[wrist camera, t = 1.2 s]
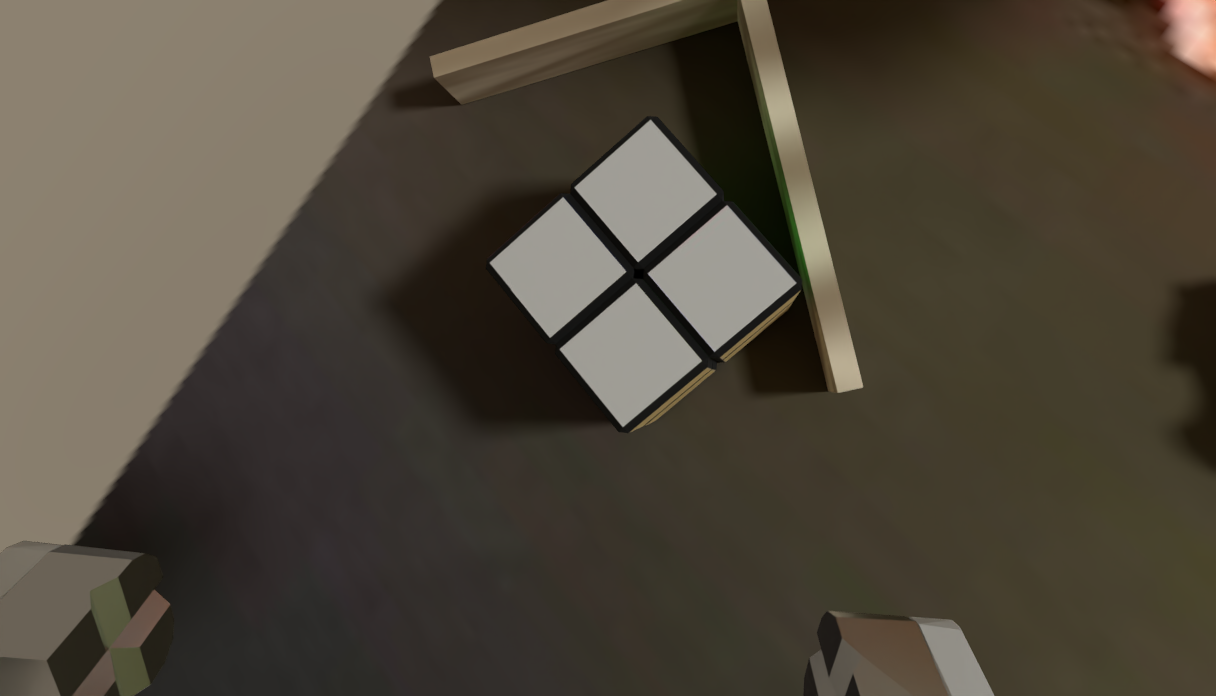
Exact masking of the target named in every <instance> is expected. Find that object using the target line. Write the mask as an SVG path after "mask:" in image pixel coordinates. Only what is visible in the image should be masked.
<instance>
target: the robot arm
mask: <svg viewBox="0 0 1216 696" xmlns="http://www.w3.org/2000/svg"><path fill="white" fill-rule="evenodd" d="M162 578H163V575H162V572H161V569H160V566H159V563H158V560H157V557H155V556H152V555H148V554H145V553H136V552H127V551H118V550H109V549H100V548H91V547H82V546H73V545H57V544H48V543H39V542H30V541H22V542H20V543H17V544H14V545H12V546H9V547H7V548H6V549H5V550H3V552H1V553H0V696H133V695H135V694H137V693H138V692H140V691H141V690H143V689H144V688H146V687H148V686H149V685H151V683H152V682H153V680H154V678H155V677H156V675H157V674H158V672H159V671H160V669H161V668H162V666H163V664H164V663H165V660H166V657H167V654H168V651H169V648H170V646H171V643H172V640H173V629H174V618H173V614H172V609H171V605H170V604H169V603H168V602H167V601H166V600H165V599H164V598H163V597H162V596H161V595H159V594H158V593H157V592H156V591H155V590H154V589H155V588H156V586H157V585H158V584H159V582H160V581H161V580H162ZM817 635H818V638H819V642H820V646H821V650H820V651H819V652H817V653H816V654H815V655H813V656H812V657H810V658H809V662H808V666H807V669H806V673H805V677H804V696H994V694H993V692H992V690H991V688H990V686H989V684H988V682H987V680H986V678H985V676H984V674H983V672H982V670H981V668H980V666H979V664H978V662H977V660H976V658H975V656H974V654H973V652H972V650H971V648H970V646H969V644H968V642H967V640H966V638H965V636H964V634H963V632H962V630H961V628H960V627H959V626H958V625H957V624H956V623H955V622H954V621H953V620H946V619H933V618H920V617H909V618H908V617H905V616H894V615H881V614H867V613H854V612H840V611H827V612H826V613H825V614H824V616H823V617H822V618H821V622H820V625H819V628H818V631H817Z"/></svg>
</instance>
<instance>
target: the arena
mask: <svg viewBox="0 0 1216 696" xmlns="http://www.w3.org/2000/svg"><path fill="white" fill-rule="evenodd" d="M737 21H738V25H739V29H740V33H741V37H742V41H743V45H744V50H745V54H746V58H747V62H748V66H749V70H750V74H751V78H752V82H753V86H754V90H755V94H756V98H757V103H758V107H759V111H760V115H761V119H762V123H763V127H764V131H765V135H766V139H767V143H768V147H769V151H770V156H771V160H772V164H773V168H774V172H775V176H776V180H777V184H778V188H779V192H780V196H781V200H782V204H783V209H784V213H785V217H786V221H787V225H788V229H789V233H790V237H791V241H792V245H793V249H794V253H795V257H796V262H797V266H798V270H799V274H800V277H801V278H802V286H803V290H804V294H805V298H806V302H807V306H808V310H809V315H810V319H811V323H812V327H813V331H814V335H815V339H816V343H817V347H818V351H819V355H820V359H821V364H822V368H823V372H824V376H825V380H826V384H827V388H828V392H835V393H839V392H844V391H849V390H853V389H858V388H863V384H862V380H861V376H860V372H859V368H858V364H857V360H856V356H855V352H854V348H853V344H852V340H851V336H850V332H849V328H848V324H847V320H846V316H845V312H844V308H843V304H842V300H841V296H840V292H839V288H838V284H837V280H836V276H835V272H834V268H833V264H832V260H831V255H830V251H829V247H828V243H827V239H826V235H825V231H824V227H823V223H822V219H821V215H820V211H819V207H818V203H817V199H816V195H815V191H814V187H813V183H812V179H811V175H810V171H809V167H808V163H807V159H806V155H805V151H804V147H803V143H802V139H801V135H800V131H799V127H798V123H797V119H796V115H795V111H794V107H793V103H792V99H791V95H790V91H789V87H788V83H787V79H786V75H785V71H784V67H783V63H782V59H781V55H780V51H779V47H778V43H777V39H776V35H775V31H774V27H773V23H772V19H771V15H770V11H769V7H768V3H767V0H607V1H604V2H601V3H598V4H594V5H591V6H588V7H585V8H582V9H579V10H575V11H572V12H569V13H566V14H563V15H560V16H557V17H553V18H550V19H547V20H544V21H541V22H538V23H534V24H531V25H528V26H525V27H522V28H519V29H516V30H512V31H509V32H506V33H503V34H500V35H497V36H493V37H490V38H487V39H484V40H481V41H478V42H475V43H471V44H468V45H465V46H462V47H459V48H456V49H453V50H449V51H446V52H443V53H440V54H437V55H434V56H430V61H431V66H432V70H433V75H434V78H435V79H436V80H437V81H438V82H439V83H440V84H441V85H442V86H443V87H444V88H445V89H446V90H447V91H448V92H449V93H450V94H451V95H452V96H453V97H454V98H455V99H456V100H457V101H458V102H459V103H460V104H461V105H463V104H466V103H470V102H473V101H476V100H480V99H483V98H486V97H490V96H493V95H496V94H499V93H503V92H506V91H509V90H513V89H516V88H519V87H523V86H526V85H529V84H532V83H536V82H539V81H542V80H546V79H549V78H552V77H556V76H559V75H562V74H565V73H569V72H572V71H575V70H579V69H582V68H585V67H589V66H592V65H595V64H598V63H602V62H605V61H608V60H612V59H615V58H618V57H622V56H625V55H628V54H631V53H635V52H638V51H641V50H645V49H648V48H651V47H655V46H658V45H661V44H664V43H668V42H671V41H674V40H678V39H681V38H684V37H688V36H691V35H694V34H697V33H701V32H704V31H707V30H711V29H714V28H717V27H721V26H724V25H727V24H730V23H734V22H737Z"/></svg>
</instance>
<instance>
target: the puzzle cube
mask: <svg viewBox="0 0 1216 696" xmlns="http://www.w3.org/2000/svg"><path fill="white" fill-rule="evenodd" d="M486 269H487V270H488V272H489V273H490V274H491V275H492V276H493V278H494V279H495V280H496V281H497V283H498V284H499V285H500V286H501V288H502V289H503V290H504V291H505V292H506V294H507V295H508V296H509V297H510V299H511V300H512V301H513V302H514V304H515V305H516V306H517V307H518V309H519V310H520V311H521V312H522V313H523V315H524V316H525V317H526V318H527V320H528V321H529V322H530V323H531V325H532V326H533V327H534V328H535V329H536V331H537V332H538V333H539V334H540V336H541V337H542V338H543V339H544V341H545V342H546V343H549V344H555V345H556V353H555V354H556V355H557V357H558V358H559V359H560V360H561V362H562V363H563V364H564V365H565V366H566V368H567V369H568V370H569V371H570V373H571V374H572V375H573V376H574V378H575V379H576V380H577V381H578V382H579V384H580V385H581V386H582V387H583V389H584V390H585V391H586V392H587V394H588V395H589V396H590V397H591V399H592V400H593V401H594V402H595V403H596V405H597V406H598V407H599V408H600V410H601V411H602V412H603V413H604V415H605V416H606V417H607V418H608V419H609V421H610V422H611V423H612V424H613V426H614V427H615V428H616V429H617V431H618V432H624V433H630V432H632V431H634V430H636V429H639V428H641V427H643V426H646V425H648V424H650V423H652V422H654V421H656V420H657V419H658V418H659V417H661V416H662V415H663V414H664V413H665V412H667V411H668V410H669V409H670V408H671V407H673V406H674V405H675V404H676V403H677V402H679V401H680V400H681V399H682V398H683V397H685V396H686V395H687V394H688V393H689V392H690V391H692V390H693V389H694V388H695V387H696V386H698V385H699V384H700V383H701V382H702V381H704V380H705V379H706V378H707V377H708V376H710V375H711V374H712V373H713V372H714V371H716V365H717V362H726V361H728V360H729V359H730V358H731V357H732V356H734V355H735V354H736V353H737V352H738V351H740V350H741V349H742V348H743V347H744V346H746V345H747V344H748V343H749V342H750V341H752V340H753V339H754V338H755V337H756V336H757V335H759V334H760V333H761V332H762V331H763V330H765V329H766V328H767V327H768V326H769V325H771V324H772V323H773V322H774V321H775V320H777V319H778V318H779V317H780V316H781V315H783V314H784V313H785V312H786V311H787V310H788V309H789V308H790V306H791V304H792V303H793V301H794V300H795V298H796V297H797V295H798V294H799V292H800V291H801V287H802V278H801V277H800V276H799V275H798V274H797V273H796V272H795V270H794V269H793V268H792V267H791V266H790V265H789V264H788V263H787V261H786V260H785V259H784V258H783V257H782V256H781V255H780V254H779V252H778V251H777V250H776V249H775V248H774V247H773V246H772V245H771V244H770V242H769V241H768V240H767V239H766V238H765V237H764V236H763V235H762V233H761V232H760V231H759V230H758V229H757V228H756V227H755V226H754V224H753V223H752V222H751V221H750V220H749V219H748V218H747V217H746V215H745V214H744V213H743V212H742V211H741V210H740V209H739V208H738V207H737V205H736V204H735V203H734V202H732V201H724V194H723V190H722V189H721V188H720V186H719V185H718V184H717V183H716V182H715V181H714V180H713V179H712V177H711V176H710V175H709V174H708V173H707V172H706V171H705V170H704V169H703V167H702V166H701V165H700V164H699V163H698V162H697V161H696V160H695V158H694V157H693V156H692V155H691V154H690V153H689V152H688V151H687V149H686V148H685V147H684V146H683V145H682V144H681V143H680V142H679V140H678V139H677V138H676V137H675V136H674V135H673V134H672V133H671V132H670V130H669V129H668V128H667V127H666V126H665V125H664V124H663V123H662V121H661V120H660V119H659V118H658V117H651V116H647V117H646V118H645V119H643V120H642V121H641V122H640V123H639V124H638V125H637V126H636V127H635V128H633V129H632V130H631V131H630V132H629V133H628V134H627V135H626V136H624V137H623V138H622V139H621V140H620V141H619V142H618V143H617V144H615V145H614V146H613V147H612V148H611V149H610V150H609V151H608V152H607V153H605V154H604V155H603V156H602V157H601V158H600V159H599V160H598V161H596V162H595V163H594V164H593V165H592V166H591V167H590V168H589V169H588V170H586V171H585V172H584V173H583V174H582V175H581V176H580V177H579V178H577V179H576V180H575V181H574V182H573V183H572V184H571V193H570V194H565V193H560V194H559V195H558V196H557V197H555V198H554V199H553V200H552V201H551V202H550V203H549V204H548V205H546V206H545V207H544V208H543V209H542V210H541V211H540V212H539V213H537V214H536V215H535V216H534V217H533V218H532V219H531V220H530V221H529V222H527V223H526V224H525V225H524V226H523V227H522V228H521V229H520V230H518V231H517V232H516V233H515V234H514V235H513V236H512V237H511V238H510V239H508V240H507V241H506V242H505V243H504V244H503V245H502V246H501V247H499V248H498V249H497V250H496V251H495V252H494V253H493V254H492V255H490V256H489V257H488V258H487V264H486ZM716 361H717V362H716Z"/></svg>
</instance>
